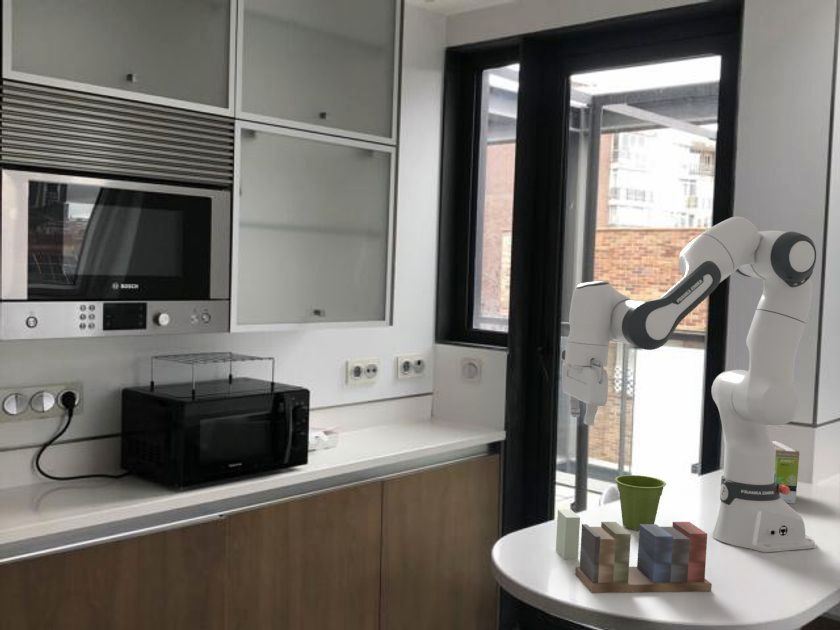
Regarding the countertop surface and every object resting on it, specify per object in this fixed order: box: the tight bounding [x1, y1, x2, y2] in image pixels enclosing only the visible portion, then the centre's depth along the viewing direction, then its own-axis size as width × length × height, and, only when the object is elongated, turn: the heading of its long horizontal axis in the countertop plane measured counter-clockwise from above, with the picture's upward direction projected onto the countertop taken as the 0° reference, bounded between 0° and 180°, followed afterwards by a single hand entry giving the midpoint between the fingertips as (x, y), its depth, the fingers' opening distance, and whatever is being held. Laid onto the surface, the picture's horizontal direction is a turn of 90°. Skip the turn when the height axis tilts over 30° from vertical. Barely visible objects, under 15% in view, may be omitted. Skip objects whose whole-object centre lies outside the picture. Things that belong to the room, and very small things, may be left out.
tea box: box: [771, 440, 800, 504], centre depth 249 cm, size 15×10×15 cm, turn 179°
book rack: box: [574, 521, 713, 594], centre depth 174 cm, size 24×10×11 cm, turn 98°
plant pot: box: [614, 474, 667, 532], centre depth 213 cm, size 12×12×11 cm
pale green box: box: [555, 509, 581, 561], centre depth 190 cm, size 3×6×9 cm, turn 8°
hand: (581, 420), depth 191 cm, fingers open, 8 cm apart
